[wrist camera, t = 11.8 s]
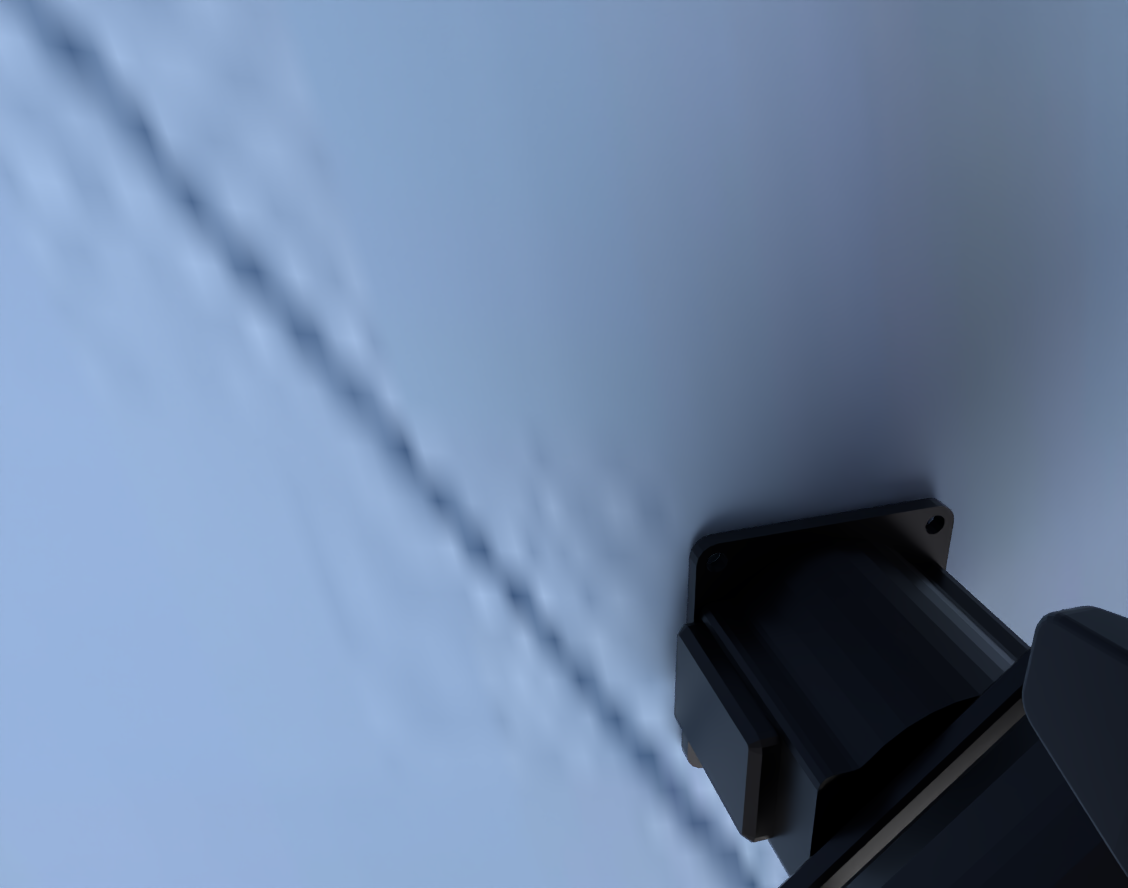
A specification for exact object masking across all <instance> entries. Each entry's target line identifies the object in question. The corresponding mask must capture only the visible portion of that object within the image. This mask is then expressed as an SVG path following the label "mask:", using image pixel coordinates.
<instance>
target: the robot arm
mask: <svg viewBox="0 0 1128 888" xmlns="http://www.w3.org/2000/svg"><path fill="white" fill-rule="evenodd" d="M931 517H934V519H933V520H932V521H931V522H930V523H929V524H928V525H926V524H927V521H928V520H929V519H930V518H931ZM953 523H954V515H953V513H952V511H951V510H950V509H949V508H948V507H947V506H946V505H944V504H943V503H942V502H941V501H939V500H937V499H935V498H927V499H921V500H915V501H909V502H903V503H897V504H891V505H885V506H879V507H873V508H867V509H861V510H855V511H849V512H843V513H837V514H831V515H825V516H819V517H813V518H807V519H801V520H795V521H789V522H783V523H777V524H771V525H765V526H759V527H753V528H747V529H741V530H735V531H729V532H723V533H717V534H711V535H708V536H705V537H703V538H701V539H700V540H699V541H697V542H696V543H695V545H694V546H693V548H692V549H691V553H690V557H689V580H688V604H687V624H684V625H683V626H682V628H681V630H680V631H679V633H678V635H677V655H676V682H675V708H674V715H675V718H676V720H677V722H678V724H679V725H680V727H681V729H682V750H683V752H684V754H685V756H686V758H687V760H688V762H689V763H690V764H691V765H692V766H694V767H697V768H704V770H705V772H706V774H707V776H708V777H709V779H710V781H711V783H712V785H713V786H714V788H715V790H716V792H717V794H718V795H719V797H720V799H721V801H722V803H723V804H724V806H725V808H726V810H727V812H728V813H729V815H730V817H731V819H732V821H733V822H734V824H735V826H736V828H737V830H738V831H739V833H740V834H741V835H742V836H743V837H745V838H746V839H747V840H749V841H750V842H757V841H761V840H765V839H768V841H769V843H770V845H771V846H772V848H773V850H774V851H775V853H776V855H777V857H778V858H779V860H780V862H781V863H782V865H783V867H784V869H785V870H786V872H787V874H788V875H789V878H788V879H787V880H786V881H785V882H783V883H782V884H781V885H780V886H779V887H778V888H1128V618H1126V617H1123V616H1121V615H1118V614H1115V613H1112V612H1109V611H1106V610H1104V609H1101V608H1098V607H1094V606H1080V607H1075V608H1070V609H1065V610H1064V609H1062V610H1060V611H1055V612H1051V613H1048V614H1047V615H1045V616H1043V617H1042V619H1041V620H1040V621H1039V623H1038V624H1037V626H1036V629H1035V633H1034V638H1033V642H1032V646H1031V647H1029V646H1028V645H1027V644H1026V643H1025V642H1024V641H1023V640H1022V639H1021V638H1019V637H1018V636H1017V635H1016V634H1015V633H1014V632H1013V631H1012V630H1011V629H1010V628H1008V627H1007V626H1006V625H1005V624H1004V623H1003V622H1002V621H1001V620H1000V619H999V618H997V617H996V616H995V615H994V614H993V613H992V612H991V611H990V610H989V609H987V608H986V607H985V606H984V605H983V604H982V603H981V602H980V601H979V600H978V599H976V598H975V597H974V596H973V595H972V594H971V593H970V592H969V591H968V590H966V589H965V588H964V587H963V586H962V585H961V584H960V583H959V582H958V581H957V580H955V579H954V578H953V577H952V576H951V575H950V574H949V573H948V572H947V571H946V564H947V558H948V552H949V547H950V541H951V535H952V529H953ZM716 553H720V556H719V557H718V558H717V559H716V561H714V562H711V563H707V561H708V559H709V558H710V557H711V556H712V555H713V554H716Z"/></svg>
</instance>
